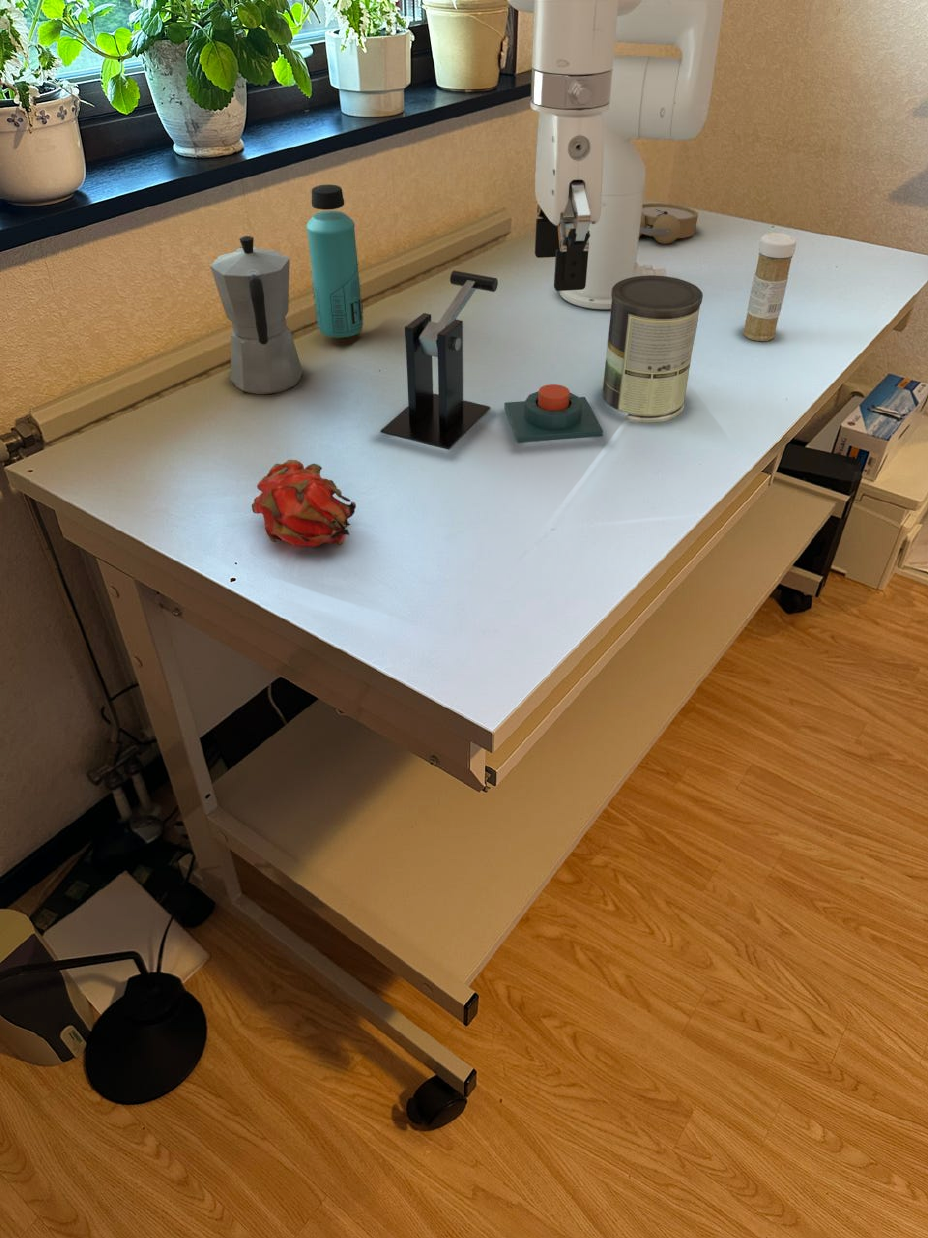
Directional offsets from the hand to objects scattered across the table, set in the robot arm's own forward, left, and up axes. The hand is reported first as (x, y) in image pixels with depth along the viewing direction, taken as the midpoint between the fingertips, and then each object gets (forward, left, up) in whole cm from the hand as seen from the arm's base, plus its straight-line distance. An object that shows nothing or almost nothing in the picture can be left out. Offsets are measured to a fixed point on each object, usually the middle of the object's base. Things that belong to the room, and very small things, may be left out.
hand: (558, 272), depth 99 cm
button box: (0, 0, -19) cm, 19 cm away
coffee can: (-13, -4, -19) cm, 23 cm away
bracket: (+13, -2, -19) cm, 23 cm away
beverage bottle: (+23, -29, -19) cm, 42 cm away
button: (0, 0, -15) cm, 15 cm away
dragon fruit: (+29, +18, -19) cm, 39 cm away
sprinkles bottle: (-35, -21, -19) cm, 45 cm away
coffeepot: (+33, -17, -19) cm, 42 cm away
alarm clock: (-34, -64, -19) cm, 75 cm away
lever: (+10, -6, -7) cm, 14 cm away
